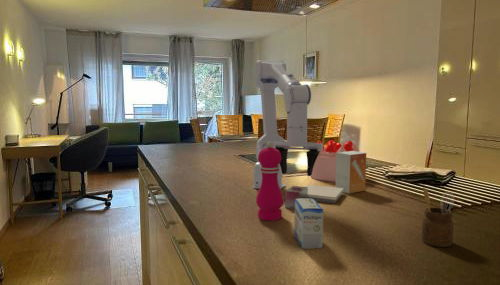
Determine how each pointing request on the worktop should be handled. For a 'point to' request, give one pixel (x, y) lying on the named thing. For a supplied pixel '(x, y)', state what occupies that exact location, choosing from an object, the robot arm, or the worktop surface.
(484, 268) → the worktop surface
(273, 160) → the pepper mill
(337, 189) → the plate
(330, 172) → the cake
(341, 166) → the small box
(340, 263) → the worktop surface
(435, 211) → the utensil holder
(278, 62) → the robot arm
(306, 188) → the housing
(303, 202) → the medicine box
